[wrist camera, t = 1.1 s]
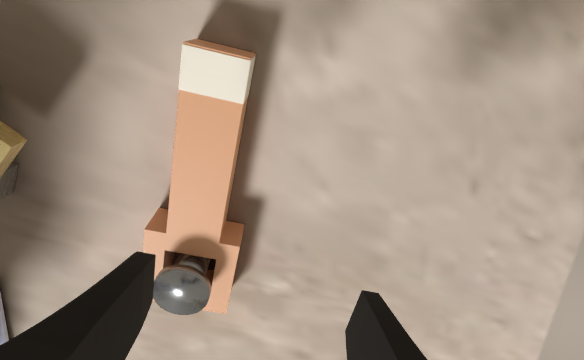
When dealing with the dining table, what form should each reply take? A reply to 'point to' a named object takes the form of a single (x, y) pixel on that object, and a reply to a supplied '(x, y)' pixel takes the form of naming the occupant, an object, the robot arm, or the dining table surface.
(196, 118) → the link
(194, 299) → the stand
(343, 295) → the dining table surface
